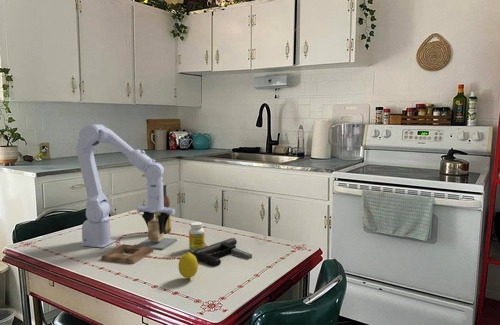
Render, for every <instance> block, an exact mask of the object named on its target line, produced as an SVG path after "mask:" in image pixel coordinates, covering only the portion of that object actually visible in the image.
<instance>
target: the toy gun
mask: <svg viewBox="0 0 500 325" xmlns="http://www.w3.org/2000/svg"><path fill="white" fill-rule="evenodd" d="M237 243H238V241H237V239H236V238H235V237H233V238H232V237H231V238H228V239H224V240H222V241H219V242H216V243H213V244H210V245H208V246H205V247H204V248H201V249H198V250H195V251H193V252H192V253H191V254H193V255H194V256H195V257H196V259H197V261H200V262H202V263H205V264H207V265H210V266H212V267H217V266H220V264H221V262H222V260H221V259H222V258H224V257H226V256H230V255H234V256H237V257H239V258H243V259H247V260H250V259H252V258H253V254H252V253H250V252H247V251H244V250H241V249H239V248H237Z"/></svg>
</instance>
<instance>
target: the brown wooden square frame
mask: <svg viewBox="0 0 500 325" xmlns="http://www.w3.org/2000/svg"><path fill="white" fill-rule="evenodd" d="M153 252H154V249H153V247H144V246H136V244H135V245H133V244H121V245H119V246H117V247H115V248H113V249H112V250H110V251H108V252H106V253H104V254H102V255H101V261H108V262H114V263H122V264H131V265H134V264H136V263H138V262H139V261H141V260H142V259H144V258H145V257H147V256H148V255H151V253H153ZM124 253H132V254H124Z"/></svg>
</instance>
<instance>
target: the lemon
mask: <svg viewBox="0 0 500 325" xmlns="http://www.w3.org/2000/svg"><path fill="white" fill-rule="evenodd" d="M198 268H199V263H198V259H196V257H195V256H194V255H193V254H192V253H191V252H186V253H184V254H183V255H181V256H180V258H179V260H178V271H179V274H180V275H181V276H182V277H183V278H186V279H187V280H190V279H191V278H193V277H194V276H196V274H197V272H198Z"/></svg>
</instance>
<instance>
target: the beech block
mask: <svg viewBox="0 0 500 325" xmlns="http://www.w3.org/2000/svg"><path fill="white" fill-rule="evenodd" d="M147 234H148V238H149V241H160V240H162V239H163V238H165V235H164V234H165V233H162V234H160V229H159V220H158V219H155V218H154V219H153V220H151V221H149V222H148V227H147ZM148 238H147V239H148Z"/></svg>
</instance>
